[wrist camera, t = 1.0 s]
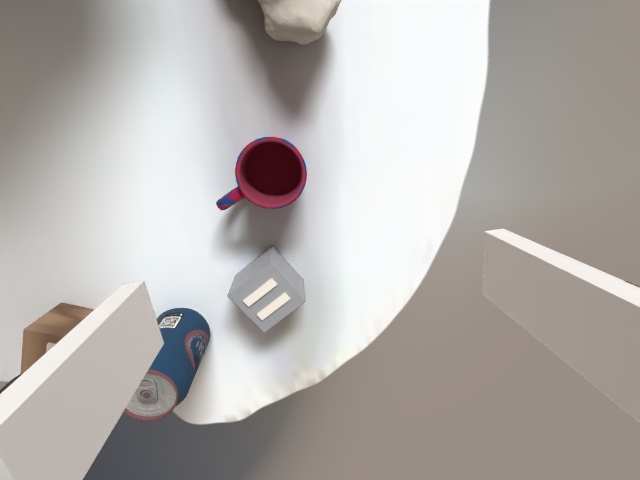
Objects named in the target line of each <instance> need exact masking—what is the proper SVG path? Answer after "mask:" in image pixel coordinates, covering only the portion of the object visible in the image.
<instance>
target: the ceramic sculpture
mask: <svg viewBox="0 0 640 480" xmlns="http://www.w3.org/2000/svg"><path fill="white" fill-rule="evenodd" d="M258 2H259V4H260V6H261V8H262V11H263V13H264V22H265V27H264V28H265V31H266V33H267V34H268V35H269V36H270V37H272V38H273V39H274V40H277V41H294V42H296V43H298V44H302V45H305V44H309V43H310V42H312V41H315V40H318V39H319V38H321V36H322V35H323V34H324V32H325V30H326V28H327V25H328V23H329V21H330V19H331V18H332V17H333V16H334V15H335V14H336V11H337V9H338V6H339V4H340V2H341V0H258Z"/></svg>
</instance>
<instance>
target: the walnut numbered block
mask: <svg viewBox="0 0 640 480" xmlns="http://www.w3.org/2000/svg"><path fill="white" fill-rule="evenodd" d="M92 311H94V309H90V308H85V307H80V306H75V305H70V304H65V303H60V304H59V305H57V306H56V307H55V308H53V309H52V310H50V311H49V312H48V313H46V314H45V315H43V316H42V317H41V318H39V319H38V320H36V321H35V322H34V323H32V324H31V325H29V326H28V327H26V328H25V329H24V332H23V347H22V362H21V374H22V373H23V372H25V371H26V370H28V369H29V368H30V367H31V366H32V365H33V364H34V363H35V362H37V361H38V360H39V359H40V358H41V357H42V356H43V355H44V354H46V353H47V352H48V351H49V350H50V349H51V348H52V347H53V346H54V345H56V344H57V343H58V342H59V341H60V340H61V339H62V338H63V337H64V336H66V335H67V334H68V333H69V332H70V331H71V330H72V329H73V328H75V327H76V326H77V325H78V324H79V323H80V322H81V321H82V320H83V319H85V318H86V317H87V316H88V315H89V314H90V313H91V312H92Z"/></svg>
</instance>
